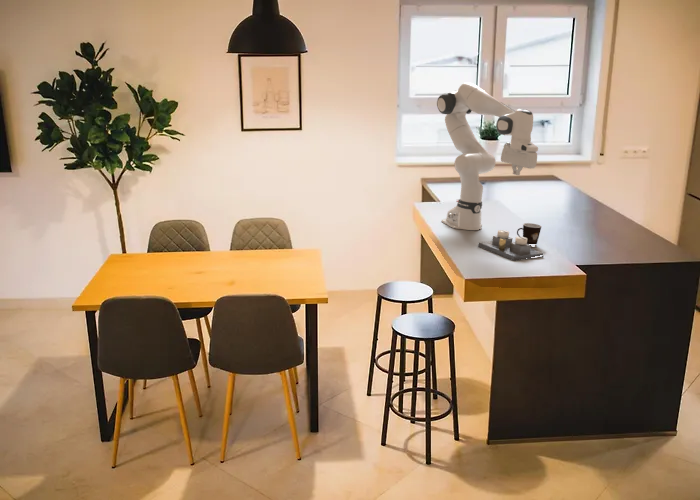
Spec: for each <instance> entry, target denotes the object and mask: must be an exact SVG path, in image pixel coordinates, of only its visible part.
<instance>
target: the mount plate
mask: <svg viewBox="0 0 700 500" xmlns="http://www.w3.org/2000/svg"><path fill="white" fill-rule="evenodd" d="M503 239H506V244H505V249H504V250H503V249H499V242H500V237H497V235H493V236H492V240H491V241H482V242H481V241H480V242H478V244H477V246H478V247H479V248H481V249H484V250H486V251H489V252H491V253H493V254H495V255H499V256H500V257H503V258H505V259H508V260H510V261H512V262H513V261H514V262H516V260H517V261H522V260H521V259H525V260H527V259H526V258H531V257H535V256H540V255H543V256H544V252H541V251H539V250H536V249H535V248H532V247H531V245H529V244H527V245H518V244H516V243H515V241H513V238H512V237H508V238H503Z"/></svg>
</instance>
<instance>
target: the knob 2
mask: <svg viewBox="0 0 700 500" xmlns="http://www.w3.org/2000/svg"><path fill="white" fill-rule="evenodd" d="M514 242H515V243H516V244H518V245H527V238H525V237H523V236H521V237H519V236H516V237H515V240H514Z"/></svg>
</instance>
